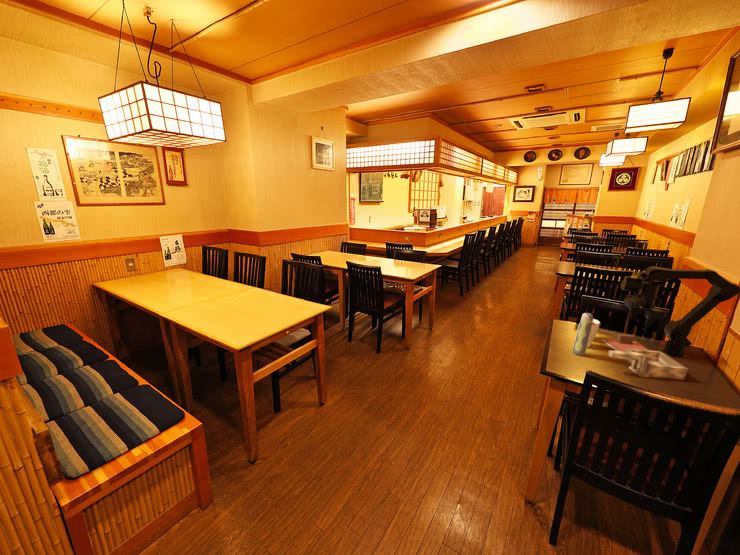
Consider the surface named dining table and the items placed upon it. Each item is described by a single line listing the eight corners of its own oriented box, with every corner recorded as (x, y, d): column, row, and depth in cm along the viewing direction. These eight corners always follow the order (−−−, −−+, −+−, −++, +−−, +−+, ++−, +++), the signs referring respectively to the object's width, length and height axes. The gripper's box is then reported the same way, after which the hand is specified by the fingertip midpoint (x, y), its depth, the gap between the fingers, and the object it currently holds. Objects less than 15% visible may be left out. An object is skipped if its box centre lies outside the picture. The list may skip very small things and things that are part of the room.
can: (587, 342, 152) (593, 320, 149) (592, 348, 146) (598, 326, 143) (572, 340, 154) (578, 318, 151) (576, 346, 148) (582, 323, 145)
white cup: (598, 342, 154) (603, 324, 151) (583, 341, 154) (587, 323, 151) (588, 335, 161) (592, 317, 158) (573, 334, 161) (577, 316, 159)
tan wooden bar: (640, 357, 127) (642, 352, 127) (645, 360, 125) (646, 355, 124) (607, 354, 128) (609, 350, 128) (611, 357, 126) (612, 353, 126)
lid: (634, 343, 153) (637, 334, 152) (656, 357, 140) (660, 347, 138) (605, 340, 155) (607, 331, 153) (624, 354, 141) (627, 345, 140)
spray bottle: (575, 349, 145) (585, 310, 139) (586, 354, 141) (597, 314, 135) (570, 352, 142) (579, 312, 137) (581, 357, 138) (592, 316, 133)
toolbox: (656, 361, 137) (662, 343, 135) (685, 380, 123) (692, 361, 121) (616, 357, 139) (621, 340, 137) (639, 376, 125) (646, 357, 123)
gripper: (616, 286, 153) (608, 315, 157) (644, 298, 135) (634, 330, 139) (640, 287, 152) (631, 316, 156) (672, 300, 134) (661, 332, 138)
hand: (638, 323), depth 148 cm, fingers open, 9 cm apart
